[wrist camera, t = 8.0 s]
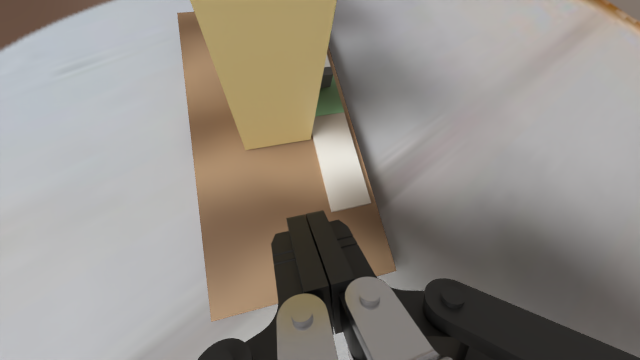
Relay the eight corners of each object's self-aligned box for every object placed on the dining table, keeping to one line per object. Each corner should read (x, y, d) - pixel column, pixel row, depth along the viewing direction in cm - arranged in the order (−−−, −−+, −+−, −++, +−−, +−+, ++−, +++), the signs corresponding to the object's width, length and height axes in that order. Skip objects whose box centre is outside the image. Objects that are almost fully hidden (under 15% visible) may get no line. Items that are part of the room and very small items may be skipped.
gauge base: (388, 270, 16) (465, 275, 9) (217, 317, 14) (151, 368, 7) (314, 17, 21) (326, -99, 14) (183, 27, 19) (127, -101, 13)
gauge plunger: (342, 134, 17) (415, -36, 7) (245, 150, 16) (180, -27, 6) (315, 40, 19) (344, -189, 9) (228, 48, 18) (158, -202, 8)
